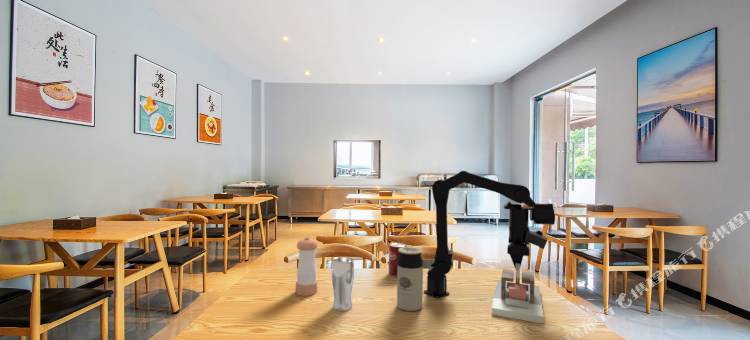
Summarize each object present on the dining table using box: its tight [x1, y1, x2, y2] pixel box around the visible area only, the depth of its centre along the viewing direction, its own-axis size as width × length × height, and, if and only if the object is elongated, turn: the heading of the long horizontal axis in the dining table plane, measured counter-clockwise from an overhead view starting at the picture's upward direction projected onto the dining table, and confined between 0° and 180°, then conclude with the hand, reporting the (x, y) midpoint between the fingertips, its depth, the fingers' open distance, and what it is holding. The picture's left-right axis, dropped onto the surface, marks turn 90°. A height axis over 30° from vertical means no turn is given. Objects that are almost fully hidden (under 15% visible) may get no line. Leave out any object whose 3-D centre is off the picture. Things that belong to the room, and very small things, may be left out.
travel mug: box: [396, 246, 424, 312], centre depth 107 cm, size 8×8×18 cm
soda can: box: [388, 242, 408, 277], centre depth 139 cm, size 7×7×12 cm
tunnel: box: [500, 268, 535, 304], centre depth 112 cm, size 10×10×7 cm
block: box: [508, 283, 526, 301], centre depth 106 cm, size 5×5×5 cm
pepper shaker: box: [295, 236, 318, 297], centre depth 118 cm, size 7×7×19 cm
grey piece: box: [505, 263, 529, 308], centre depth 107 cm, size 8×7×11 cm
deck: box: [491, 280, 545, 324], centre depth 112 cm, size 27×14×2 cm, turn 157°
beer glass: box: [331, 256, 355, 312], centre depth 106 cm, size 7×7×15 cm
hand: (517, 270), depth 112 cm, fingers closed
